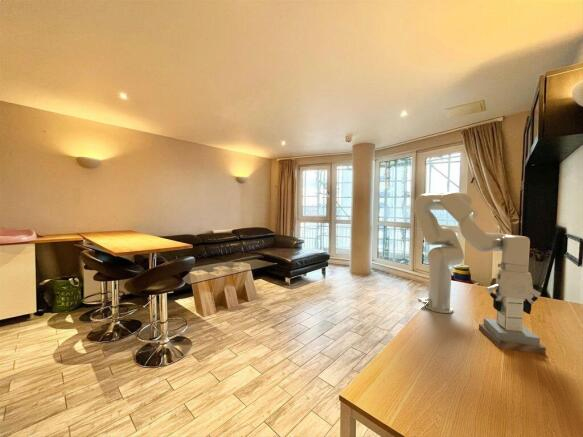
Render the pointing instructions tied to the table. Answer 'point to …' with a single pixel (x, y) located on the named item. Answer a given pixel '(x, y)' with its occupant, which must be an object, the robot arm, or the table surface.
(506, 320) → the syrup box
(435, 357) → the table surface
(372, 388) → the table surface
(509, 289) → the robot arm
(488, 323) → the slate-grey slab
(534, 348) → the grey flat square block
